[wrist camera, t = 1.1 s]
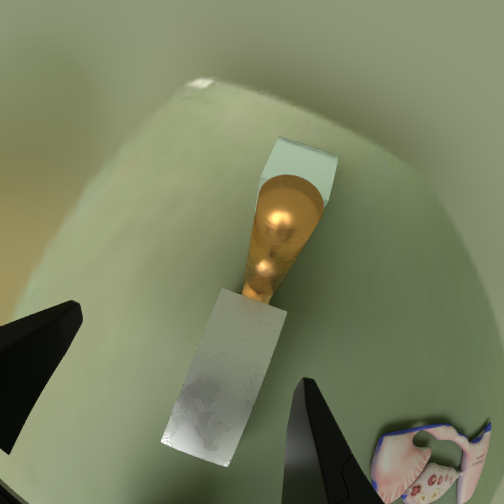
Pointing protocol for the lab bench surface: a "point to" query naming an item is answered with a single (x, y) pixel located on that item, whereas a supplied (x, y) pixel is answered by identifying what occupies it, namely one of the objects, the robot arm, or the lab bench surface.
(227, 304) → the aluminium sleeve
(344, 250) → the lab bench surface
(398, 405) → the lab bench surface
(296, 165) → the green socket
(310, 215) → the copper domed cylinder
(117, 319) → the lab bench surface
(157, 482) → the lab bench surface
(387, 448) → the anatomical model
